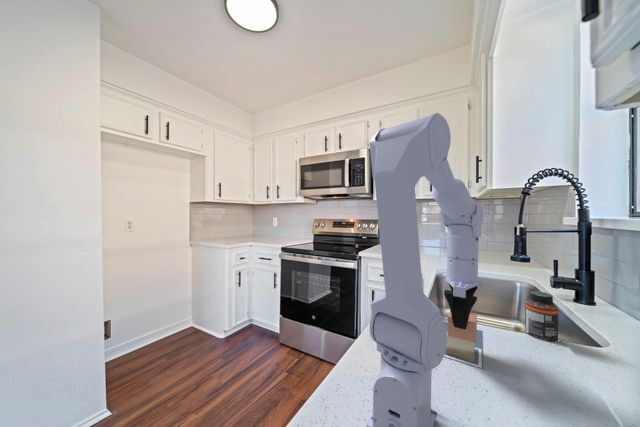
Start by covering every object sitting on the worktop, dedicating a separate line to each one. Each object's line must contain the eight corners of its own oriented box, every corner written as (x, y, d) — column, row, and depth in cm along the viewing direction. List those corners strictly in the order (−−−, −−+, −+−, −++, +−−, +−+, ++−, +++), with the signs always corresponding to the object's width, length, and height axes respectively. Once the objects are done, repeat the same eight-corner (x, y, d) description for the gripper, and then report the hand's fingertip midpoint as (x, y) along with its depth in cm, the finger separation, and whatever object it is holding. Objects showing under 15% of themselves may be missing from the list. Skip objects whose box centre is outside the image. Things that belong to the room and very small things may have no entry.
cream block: (474, 362, 48) (474, 342, 48) (445, 353, 51) (446, 334, 51) (474, 350, 52) (474, 332, 52) (448, 343, 55) (448, 325, 55)
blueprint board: (483, 374, 46) (483, 368, 46) (407, 350, 54) (407, 345, 54) (482, 334, 61) (482, 330, 61) (423, 320, 69) (423, 316, 69)
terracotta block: (476, 342, 48) (476, 322, 48) (447, 335, 50) (448, 316, 50) (476, 332, 52) (476, 314, 52) (450, 326, 55) (450, 308, 55)
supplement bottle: (537, 332, 63) (538, 288, 63) (564, 344, 57) (565, 296, 57) (518, 334, 61) (519, 290, 61) (545, 347, 56) (546, 298, 56)
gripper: (485, 266, 43) (484, 342, 43) (484, 255, 55) (483, 314, 55) (441, 261, 47) (440, 330, 47) (449, 251, 59) (448, 307, 59)
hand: (460, 321), depth 51 cm, fingers open, 6 cm apart
